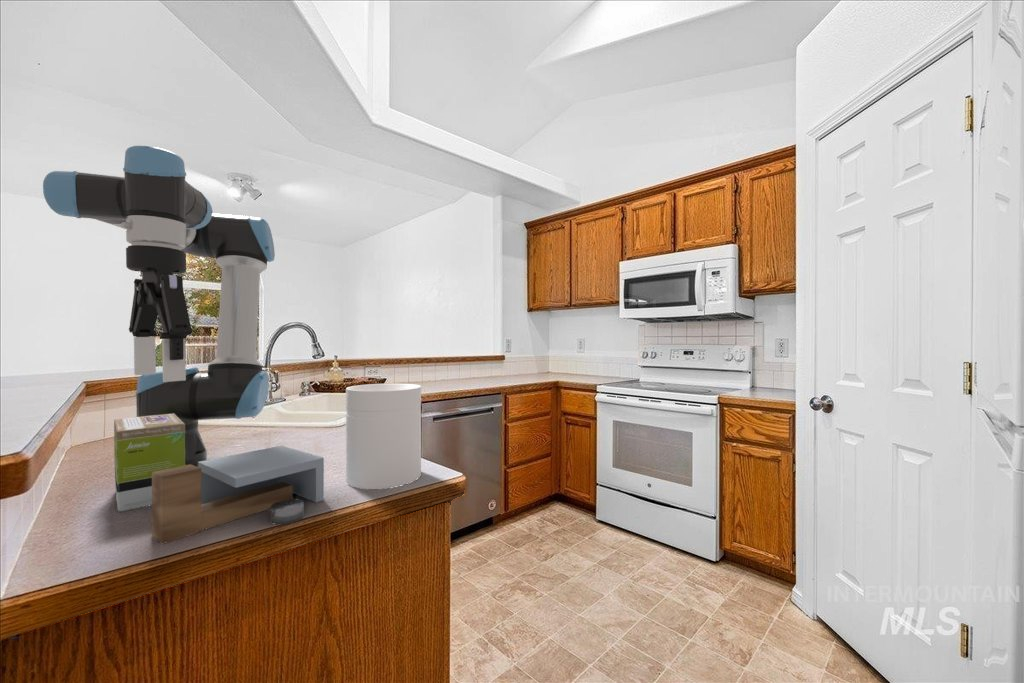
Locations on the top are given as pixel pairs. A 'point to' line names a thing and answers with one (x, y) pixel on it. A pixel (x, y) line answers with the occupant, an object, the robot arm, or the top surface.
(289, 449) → the low shelf
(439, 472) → the top surface
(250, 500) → the wooden l-shaped block
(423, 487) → the top surface
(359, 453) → the canister
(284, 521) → the steel puck
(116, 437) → the tea box
